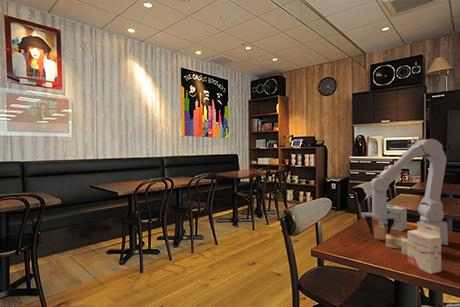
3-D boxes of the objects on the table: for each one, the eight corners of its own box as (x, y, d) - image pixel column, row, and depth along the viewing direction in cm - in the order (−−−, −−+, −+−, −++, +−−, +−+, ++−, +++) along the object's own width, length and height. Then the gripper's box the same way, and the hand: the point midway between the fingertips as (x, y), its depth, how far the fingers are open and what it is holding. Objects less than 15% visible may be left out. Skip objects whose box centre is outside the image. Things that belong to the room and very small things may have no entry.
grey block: (413, 252, 104) (413, 239, 104) (414, 256, 100) (414, 242, 100) (401, 250, 106) (401, 238, 106) (401, 254, 102) (401, 241, 102)
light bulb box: (378, 226, 137) (378, 205, 137) (384, 224, 141) (384, 204, 141) (401, 231, 128) (401, 209, 128) (407, 228, 132) (407, 207, 132)
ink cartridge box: (406, 263, 94) (406, 222, 94) (417, 261, 95) (416, 220, 95) (431, 274, 86) (430, 229, 86) (442, 271, 87) (441, 227, 87)
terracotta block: (385, 237, 121) (384, 226, 121) (384, 240, 117) (384, 229, 117) (375, 236, 123) (374, 225, 123) (374, 238, 119) (374, 227, 119)
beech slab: (405, 244, 112) (405, 235, 112) (406, 249, 106) (405, 240, 106) (386, 241, 116) (385, 233, 116) (385, 246, 110) (385, 238, 110)
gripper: (360, 204, 120) (361, 234, 120) (398, 208, 113) (398, 239, 113) (362, 202, 126) (362, 230, 127) (398, 204, 119) (398, 234, 119)
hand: (379, 234), depth 120 cm, fingers open, 6 cm apart
